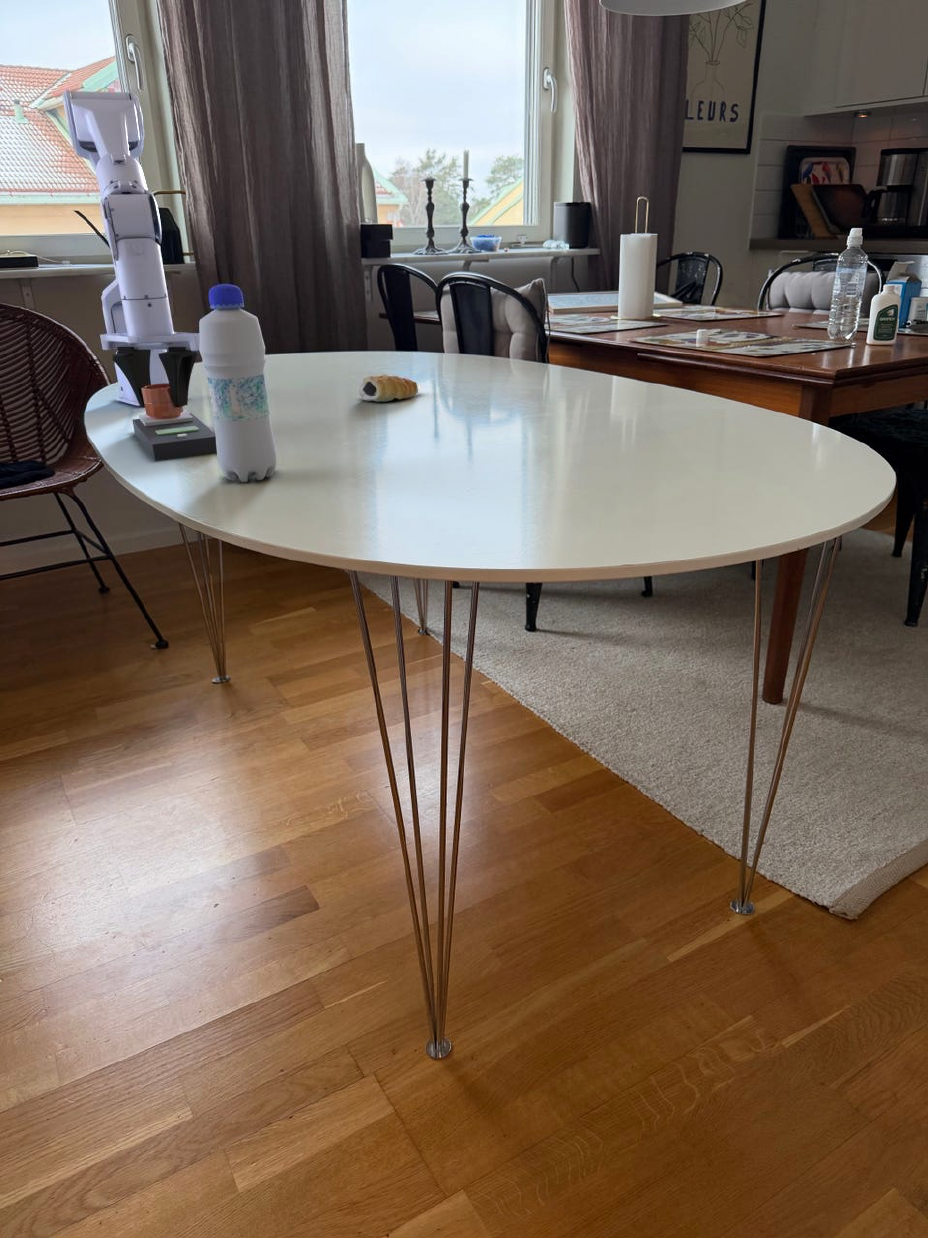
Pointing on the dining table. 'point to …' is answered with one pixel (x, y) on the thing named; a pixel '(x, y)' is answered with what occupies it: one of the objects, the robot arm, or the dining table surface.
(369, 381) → the pastry
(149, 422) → the scale
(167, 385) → the copper ridged cylinder
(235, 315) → the bottle
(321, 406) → the dining table surface
